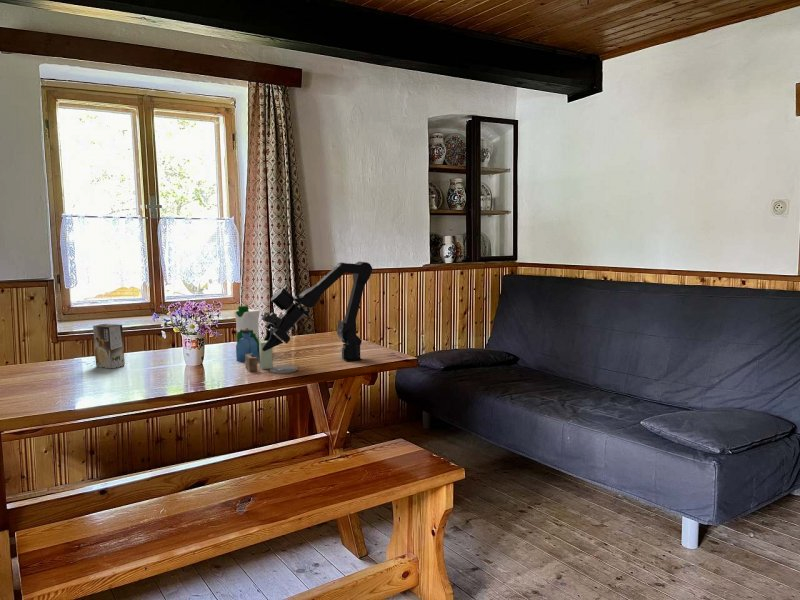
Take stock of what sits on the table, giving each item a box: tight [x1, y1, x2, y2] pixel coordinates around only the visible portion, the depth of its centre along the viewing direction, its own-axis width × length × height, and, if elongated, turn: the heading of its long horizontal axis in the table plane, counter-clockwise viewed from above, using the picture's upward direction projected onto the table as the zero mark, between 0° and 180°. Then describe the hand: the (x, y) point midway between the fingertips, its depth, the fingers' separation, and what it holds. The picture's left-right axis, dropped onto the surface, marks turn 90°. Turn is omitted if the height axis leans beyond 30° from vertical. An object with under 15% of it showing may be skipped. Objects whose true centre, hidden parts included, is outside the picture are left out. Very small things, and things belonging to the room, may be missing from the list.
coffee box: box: [92, 323, 126, 369], centre depth 234 cm, size 9×6×16 cm
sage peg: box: [258, 340, 274, 370], centre depth 230 cm, size 4×4×10 cm
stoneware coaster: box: [269, 365, 298, 374], centre depth 226 cm, size 10×10×1 cm
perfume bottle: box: [235, 329, 259, 362], centre depth 245 cm, size 6×6×12 cm
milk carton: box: [233, 305, 261, 353], centre depth 258 cm, size 9×9×20 cm
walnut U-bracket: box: [244, 354, 258, 373], centre depth 228 cm, size 3×9×5 cm, turn 24°
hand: (262, 349), depth 229 cm, fingers closed on sage peg, 4 cm apart
